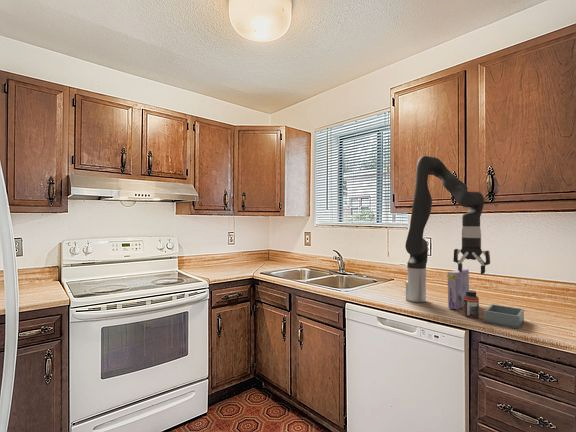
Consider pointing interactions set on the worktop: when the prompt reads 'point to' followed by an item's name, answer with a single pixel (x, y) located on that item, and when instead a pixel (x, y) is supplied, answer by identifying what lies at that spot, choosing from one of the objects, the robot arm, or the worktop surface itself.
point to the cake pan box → (457, 288)
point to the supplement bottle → (471, 304)
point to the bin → (504, 316)
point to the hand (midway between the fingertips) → (471, 273)
